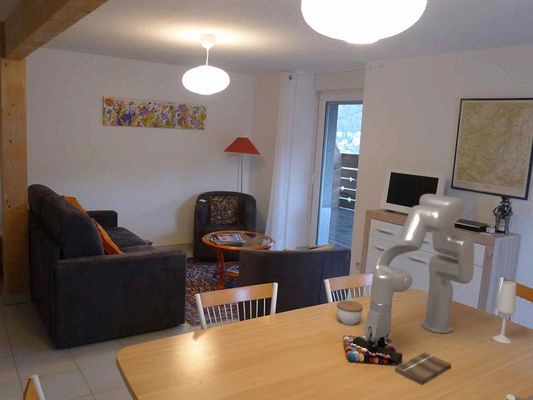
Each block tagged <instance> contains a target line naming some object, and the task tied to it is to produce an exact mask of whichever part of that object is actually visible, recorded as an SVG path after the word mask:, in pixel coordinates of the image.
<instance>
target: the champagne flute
mask: <svg viewBox="0 0 533 400" xmlns="http://www.w3.org/2000/svg"><path fill="white" fill-rule="evenodd" d="M516 300H517V283H516V282H513V281H508V280H505V281H504V280H503V281H502V284H501V289H500V293H499V297H498V299H497V304H496V309H497V312H498V313H499V314H500V316H502V324H501V332H500V334H498V335H495V336H492V339H493V340H494V341H496V342H498V343H501V344H511V343H512V341H511V339H509V338H508V337H506V336H505V330H506V324H507V318H509V317H511V316H513V315H514V314H515V313H516V305H517V304H516V303H517V301H516Z"/></svg>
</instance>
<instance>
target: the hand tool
mask: <svg viewBox="0 0 533 400" xmlns="http://www.w3.org/2000/svg"><path fill="white" fill-rule="evenodd" d="M364 339H365V338H363V337H359V336H356V337H354V338H353V340H352V342H351V344H352V343H353V344H356V345H358V346H360V347H363V348H366V349H368V343H367V342H366V341H365V340H364ZM376 347H377V350H376V352H378V353H382V354H385V355H389V356H390V357H391V358H392V360H393V361H395V362H394V363H396V365H397V366H399V365H401V364H402V360H403V353H402V352H397V351H394V350H391V349H390V348H386V347H385V348H383V347H380V346H377V344H376ZM393 361H392V362H393Z"/></svg>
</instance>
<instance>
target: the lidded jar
mask: <svg viewBox="0 0 533 400" xmlns="http://www.w3.org/2000/svg"><path fill="white" fill-rule="evenodd" d="M336 306H337V307H336V313H337V317H338V319H339V320H340V322H341V324H343V325H346V326H355V325H356V324H357V323H358V322H360V320H361V317H362V314H363V307H364V306H363V305H362V303H360V302H357V301H355V300H340V301H338V302H337V303H336Z"/></svg>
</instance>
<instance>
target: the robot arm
mask: <svg viewBox="0 0 533 400" xmlns="http://www.w3.org/2000/svg"><path fill="white" fill-rule="evenodd" d="M418 203H419V204H418V205H413V206H412V207H411V208H410V210H409V211H408V212H409V213H408V214H407V217H406V219H405V222H404V224H403V227H402V230H401V232H400V235H399V236H398V238H397V240H396V241H395V242H393V243H391V244H390V245H388V246H387V247H386V248H385V249H383V251H382V252H381V253H380V255H379V256H378V258H377V261H376V262H375V266H374V269H373V273H372V280H371V290H370V291H371V292H370V303H369V309H368V311H367V315H366V319H365V326H364V332H363V333H364V336H365V337H364V338H363V339H364V340H365V341H366V342H367V343H368V351H369V352H371V353H375V354H376V350H377V347H376V345H377V346H380V347H383V348H386V345H387V344H386V343H387V341H388V340H387V339H388V337H389V335H390V333H391V331H392V330H391V328H392V308H393V295H394V293H398V292H399V293H401V292H406V291H407V290H409V289H410V288H411V287H412V284H413V276H412V275H411V274H410V273H409V272H407V271H404V270H402V269H398V268H395V267H392V266H390V264H391V263H392V261H393V260H394V259H395V258H396V257H397V256H400V255H402V254H406V253H412V252H415V251H418V250H421V248H422V246H423V243H424V240H425V238H426V236H427V232H428V230H431V231H432V234H431V235H432V242H431V243H432V248H433V250H434V251H435V253H438V254H434V255H432V256H431V258H430V259H429V261H428V273H429V282H428V283H429V284H428V291H427V292H428V293H427V301H426V302H427V304H426V311H425V319H422V320H421V322H420V325H421V327H422V328H423V329H425V330H427V331H429V332H432V333H437V334H449V333H451V332H452V331H453V328H454V327H453V326H452V325H451V324H450V321H451V320H453V319H454V317H453V315H451V311H452V302H453V295H454V294H453V293H454V287H453V283H452V282H456V283H459V284H463V285H465V284H466V285H467V284H469V283H471V281H472V280H473V277H474V272H475V243H474V240H473V238H471V237H470V236H468V235H465V234H461V233H458V232H456V230H455V223H456V222H458V221H459V220H460V219H462V217H463V215H464V214H465V211H466V204H465V202H464V200H462V199H461V198H459V197H454V196H447V195H441V194H435V193H426V194H425V193H424V194H423V195H421V196H420V198H419V202H418Z"/></svg>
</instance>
